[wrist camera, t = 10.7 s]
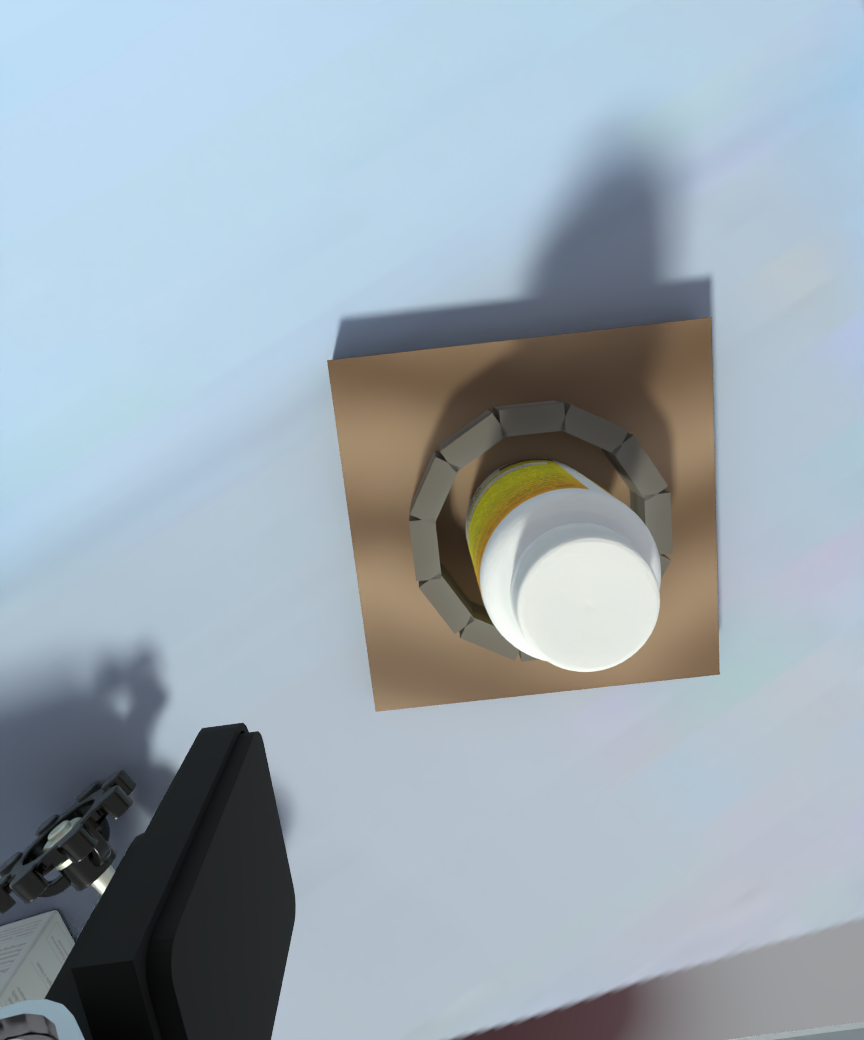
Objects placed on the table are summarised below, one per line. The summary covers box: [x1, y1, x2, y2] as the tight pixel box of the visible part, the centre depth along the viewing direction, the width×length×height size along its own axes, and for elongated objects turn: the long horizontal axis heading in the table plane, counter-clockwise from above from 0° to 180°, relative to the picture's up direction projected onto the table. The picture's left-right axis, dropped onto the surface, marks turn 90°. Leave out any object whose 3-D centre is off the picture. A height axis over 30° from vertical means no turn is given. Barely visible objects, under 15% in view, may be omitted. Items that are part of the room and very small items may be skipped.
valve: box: [0, 770, 136, 914], centre depth 31 cm, size 7×7×12 cm
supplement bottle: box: [466, 458, 661, 672], centre depth 24 cm, size 6×6×10 cm
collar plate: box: [327, 317, 720, 711], centre depth 29 cm, size 15×15×4 cm
